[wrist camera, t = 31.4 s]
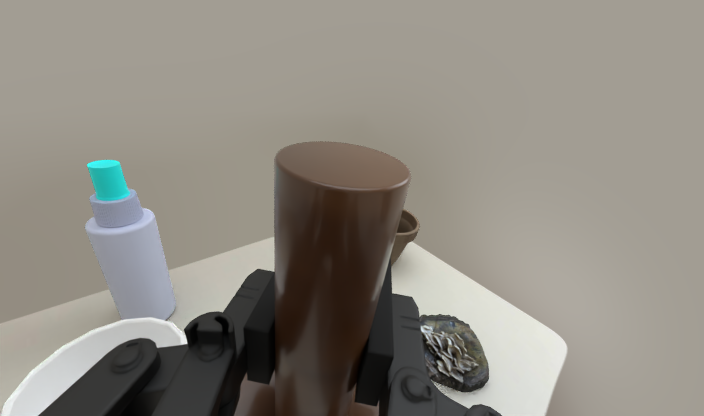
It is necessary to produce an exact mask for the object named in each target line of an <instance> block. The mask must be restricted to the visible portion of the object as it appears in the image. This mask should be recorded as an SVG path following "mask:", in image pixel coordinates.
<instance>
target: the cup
mask: <svg viewBox="0 0 704 416" xmlns="http://www.w3.org/2000/svg"><path fill="white" fill-rule="evenodd" d="M137 338H148V339H151V340H152V341H154V342H155V343H156V346H157V348H160V347H168V346H177V345H184V344H188V343H187V339H186V335H185V334H184V333H183V332H182V331H181V330H180V329H179V328H178V327H177V326H176V325H175V324H173V323H172V322H169V321H165V320H161V319H157V318H153V317H147V318H135V319H124V320H121V321H118V322H115V323H112V324H109V325H106V326H103V327H99V328H96V329H94V330H92V331H90V332H88V333H86V334H84V335H83V336H81V337H79V338H77V339H75V340H73V341H71V342H69V343H68V344H66V345H64V346H62V347H61V348H59V349H58V350H57V351H56V352H54V353H53V354H52V355H51V356H49V357H48V358H47V359H46V360H44V361H43V362H42V363H41V364H39V365H38V366H37V367H36V368H34V369H33V370H32V371H30V373H29V374H28V375H27V376H26V378H25V379H24V380H23V381H22V382H21V384H20V385H19V386H18V387H17V389H16V390H15V391H14V392H13V394H12V395H11V396H10V397H9V399H8V400H7V401H6V402H5V404H4V406H3V409H2V411H1V414H0V416H38V415H39V414H40V413H41V412H43V411H44V410H45V409H46V408H47V407H48V406H49V405H50V404H51V403H53V402H54V401H55V400H56V399H57V398H58V397H59V396H60V395H61V394H63V393H64V392H65V391H66V390H67V389H68V388H69V387H70V386H71V385H73V384H74V383H75V382H76V381H77V380H78V379H79V378H80V377H81V376H83V375H84V374H85V373H86V372H87V371H88V370H89V369H90V368H91V367H93V366H94V365H95V364H96V363H97V362H98V361H99V360H100V359H101V358H103V357H104V356H105V355H106V354H107V353H108V352H110V351H111V350H112V349H114V348H115V347H116V346H118V345H120V344H122V343H124V342H126V341H129V340H132V339H137Z"/></svg>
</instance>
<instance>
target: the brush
mask: <svg viewBox="0 0 704 416" xmlns="http://www.w3.org/2000/svg"><path fill="white" fill-rule="evenodd" d="M410 180H411V174H410V171H409V169H408V168H407V166H406V165H405V164H403V163H402V162H401V161H399V160H398V159H396V158H394V157H392V156H390V155H388V154H386V153H383V152H380V151H377V150H374V149H371V148H367V147H363V146H359V145H353V144H347V143H338V142H321V141H320V142H304V143H298V144H293V145H290V146H287V147H284V148H283V149H281V150H280V151H278V153H277V154H276V156H275V159H274V199H275V200H274V205H275V206H274V214H275V215H274V219H275V220H274V223H275V225H274V226H275V227H274V228H275V370H274V373H273V375H272V378H271V381H270V383H269V385H268V384H263V383H258V382H253V381H248V380H247V373H246V375H245V377H244V379H243V381H242V383H241V386H240V387H241V391H240V398H239V401H238V405H237V408H236V411H235V414H234V416H379V401H378V404H377V407H376V406H371V405H366V404H361V403H356V402H355V392H356V382H357V379H358V375H359V371H360V367H361V364H362V360H363V356H364V352H365V349H366V345H367V341H368V337H369V334H370V330H371V326H372V323H373V319H374V315H375V311H376V308H377V304H378V300H379V296H380V293H381V289H382V285H383V281H384V278H385V274H386V270H387V267H388V263H389V259H390V255H391V252H392V248H393V244H394V240H395V237H396V233H397V229H398V226H399V222H400V218H401V214H402V211H403V207H404V203H405V199H406V196H407V192H408V188H409V184H410Z"/></svg>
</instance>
